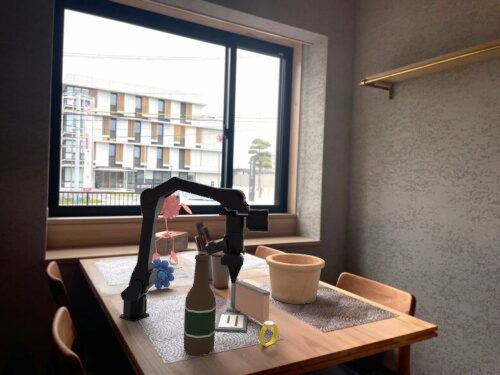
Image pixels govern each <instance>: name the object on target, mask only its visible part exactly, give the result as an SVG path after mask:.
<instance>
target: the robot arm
mask: <svg viewBox="0 0 500 375" xmlns="http://www.w3.org/2000/svg"><path fill="white" fill-rule="evenodd" d="M177 191H179V192H183V193H188V194H191V195H195V196H199V197H203V198H206V199H211V200H213V201H215V202H217V203H219V204H220V205H223V206H224V207H223V209H222V210H221V212H219V213H218V216H220V217H222V216H223V217H225V218H224V220H225V221H224V234H223V236H222V238H220V239H217V240H211V241H208V242H207V243H206V244H205V245H204V247H205V252H206V254H207V255H209V257H211V256H213V255H214V254H217V253H221V252H222V255H221V257H220V265H221V266H226V267H227V268H228V275H229V279H230V284H231V283H235V282H236V279H237V278H238V277H239V274H240V272H241V269H242V268H243V266H244V262H245V258H244V256H245V255H246V247H245V243H244V242H245V228H246V229H247V230H249V232H250V233H269V231H270V229H269V228H270V218H269V216H270V215H269V209H267V208H266V209H252V207H251V206H250V205H249V203H248V202H247V201H246V193H244V191H243V190H242V189H240V188H239V189H238V188H231V187H230V188H227V187H216V186H213V185H209V184H205V183H201V182H197V181H195V180H194V181H193V180H189V179H186V178H183V177H181V176H172V177H170V178H169V179H168V180H166V181H164V182H162V183H160V184H158V185H156V186H154V187H151V188H150V187H148V188H145V189H143V191H142V192H141V193H140V195H139V207H140V211H141V217H142V216H143V217H142V220H141V229H140V237H139V244H138V251H137V260H136V263H135V266H134V268H133V270H132V273H131V274H130V278H129V282H128V286H127V287H126V288H124V289H123V290H122V291H121V292H120V297H121V300H122V301H123V305H122V306H123V308H122V309H123V310H122V313H121V314H119V316H118V317H119V318H122V319H125V320H128V321H132V322H135V321H139V320H141V319H143V318H146V317H148V316H150V313H149V312H147V309H148V308H147V306H148V305H147V304H148V299H147V293H148V291H149V290H150V289H151V288H152V287H153V286H154V285H155V284H154V282H156V281H157V279H156V274H157V271H158V269H157V268H153V264H152V263H153V261H152V259H153V255H154V254H153V251H154V244H155V236H156V233H157V227H158V220H159V219H158V218H160V215H161V214H160V212H161V210H162V208H163V205H164V202H165V199H166V198H167V197H169V196H173V195H174V194H175V193H176V192H177ZM238 211H239V212H240V213H239V212H238ZM245 217H246V218H245ZM153 284H154V285H153Z"/></svg>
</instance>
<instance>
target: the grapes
mask: <svg viewBox="0 0 500 375" xmlns="http://www.w3.org/2000/svg"><path fill="white" fill-rule="evenodd" d="M152 264H153V268H157V269H158V271H157V274H156V279H157V281H156V282H154V284H153V286H154V288H156V289H157V290H161V289H163V287H164V288H166V289H167V288H169V287H170V286H171V283H172V282H173V281H175V275H174V274H173V273H174V272H175V268H174V267H173V266H172V265H170V262H169V261H168V260H167V259H163V260H161V258H160V259H158V258H156V259H154V261H152ZM170 282H171V283H170Z"/></svg>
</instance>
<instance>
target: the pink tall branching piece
mask: <svg viewBox="0 0 500 375" xmlns="http://www.w3.org/2000/svg"><path fill="white" fill-rule="evenodd" d="M180 203H181V204H180ZM182 207H183V209H184V210H185V212H187V213H188V214H190V215H193V213H192V210H191V209H190V208H189V206H188V205H186V204H185V203H183V202H181V199H179V198H178V199H177V195H176V194H175V193H173V194H172V195H171V196H169V197H167V198H166V199H165V202H164V205H163V208H162V210H161V212H160V215H162V216H159V217H158V220H160V219H162V218H163V219H164V221H165V225H166V226H165V227H166V231H167V232H166V233H165V234H164V237H166V238H168V237H169V236H170V233H168V231H169V228H168V223H167V219H168V218H169V220H172V219H175V218H176V217H178V216H179V214H180V213H179V211H181V208H182ZM141 217H142V218H143V216H142V215H141ZM170 237H171V236H170ZM161 238H163V237H161ZM161 238H159V239H161ZM171 238H172V237H171ZM159 239H157V240H159ZM172 239H173V238H172ZM157 240H156V241H157ZM156 241H155V246H156ZM173 251H174V239H173ZM173 251H171V254H170V257H169V261H168V263H171V260H172V259H173V261H174V262H175V263H176V264H178V263H179V260H178V256H177V254H176V252H175V253H174V252H173ZM156 258H158V259H160V260H161V255H159V254H158V253H157V250H156V253H154V254H153V259H152V262H153V261H154V259H156ZM182 267H183V266H182ZM182 267H178V269H182ZM176 269H177V267H176V268H175V270H176Z"/></svg>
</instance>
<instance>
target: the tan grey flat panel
mask: <svg viewBox="0 0 500 375" xmlns="http://www.w3.org/2000/svg"><path fill="white" fill-rule="evenodd" d="M270 296H271V291H268V290H266V289H263V288H261V287H259V286H256V285H254V284H251V283H249V282H247V281H244V280H241V279H240V280H239V278H238V277H237V279H236V282H235V283H231V282H230V303H229V305H230V307H234V308H235V309H236V310H238V311H240V312H241V313H244V314H246V315H247V317H249V318H252V319H254V321H257V322H259V323H261V324H263V325H264V322H265V321H270V318H269V317H270Z"/></svg>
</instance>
